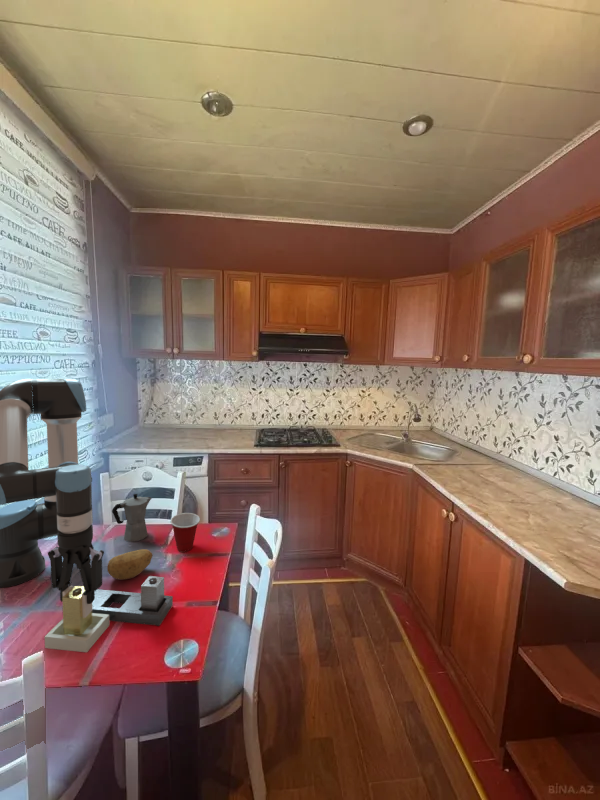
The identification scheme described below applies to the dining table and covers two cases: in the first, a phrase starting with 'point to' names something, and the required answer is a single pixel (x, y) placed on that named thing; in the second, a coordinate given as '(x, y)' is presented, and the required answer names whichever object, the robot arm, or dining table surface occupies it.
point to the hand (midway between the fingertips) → (78, 612)
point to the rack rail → (128, 607)
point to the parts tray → (77, 642)
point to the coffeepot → (133, 517)
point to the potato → (129, 564)
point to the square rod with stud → (152, 594)
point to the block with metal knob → (74, 612)
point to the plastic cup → (185, 530)
